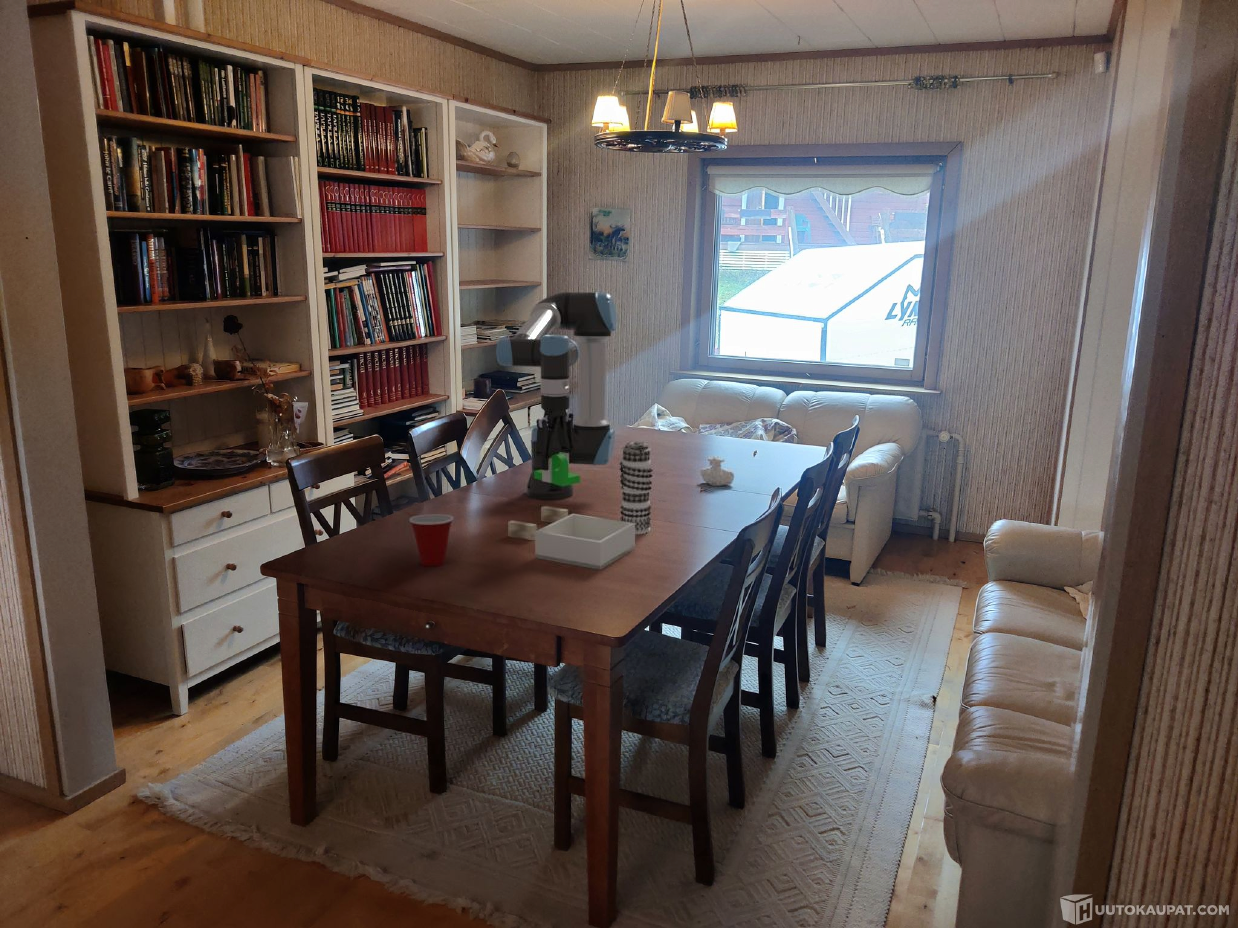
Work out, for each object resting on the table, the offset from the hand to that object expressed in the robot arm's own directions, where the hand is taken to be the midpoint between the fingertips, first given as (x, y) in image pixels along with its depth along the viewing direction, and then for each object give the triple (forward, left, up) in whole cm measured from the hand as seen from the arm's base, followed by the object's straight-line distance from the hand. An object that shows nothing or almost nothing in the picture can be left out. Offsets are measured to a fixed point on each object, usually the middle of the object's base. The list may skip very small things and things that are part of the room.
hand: (555, 478), depth 243 cm
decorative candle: (+15, +19, -17) cm, 29 cm away
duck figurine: (+16, +79, -17) cm, 82 cm away
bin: (+13, -6, -17) cm, 22 cm away
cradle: (-9, +6, -17) cm, 20 cm away
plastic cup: (-17, -31, -17) cm, 40 cm away
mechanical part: (0, 0, -1) cm, 1 cm away
